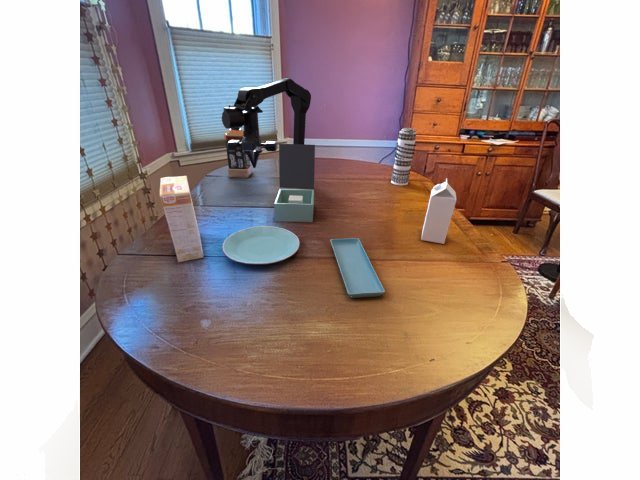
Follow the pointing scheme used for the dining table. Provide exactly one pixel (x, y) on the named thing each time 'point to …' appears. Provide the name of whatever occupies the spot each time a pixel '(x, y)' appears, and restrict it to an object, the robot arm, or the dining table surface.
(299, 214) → the green open box
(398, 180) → the white patterned cylinder
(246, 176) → the whiskey bottle
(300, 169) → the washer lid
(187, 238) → the coffeecake box
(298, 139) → the robot arm
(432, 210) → the milk carton
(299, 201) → the white cube
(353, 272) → the teal serving tray
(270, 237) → the plate
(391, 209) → the dining table surface
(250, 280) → the dining table surface
